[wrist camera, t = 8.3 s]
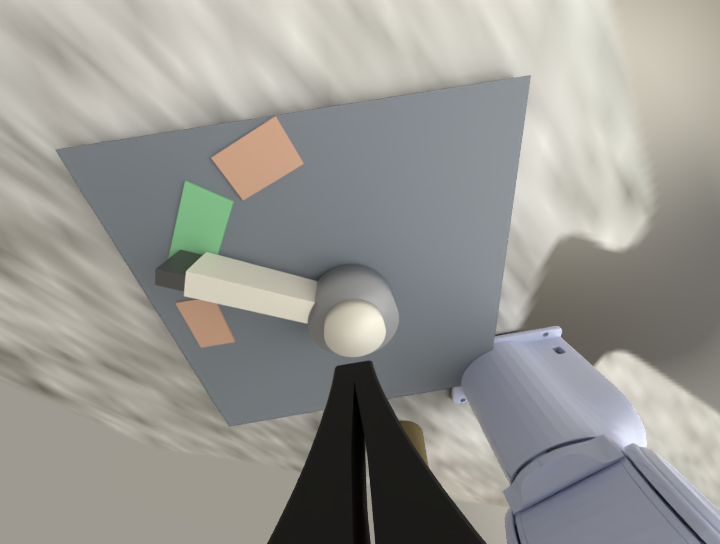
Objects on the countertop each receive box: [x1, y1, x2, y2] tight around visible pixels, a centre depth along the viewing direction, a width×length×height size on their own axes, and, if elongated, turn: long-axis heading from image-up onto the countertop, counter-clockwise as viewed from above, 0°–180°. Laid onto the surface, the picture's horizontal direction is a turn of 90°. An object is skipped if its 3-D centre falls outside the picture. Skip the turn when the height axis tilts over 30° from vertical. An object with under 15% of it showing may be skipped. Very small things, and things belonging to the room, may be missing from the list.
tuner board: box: [56, 75, 531, 426], centre depth 19 cm, size 24×23×1 cm
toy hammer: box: [155, 250, 399, 357], centre depth 16 cm, size 14×6×4 cm, turn 70°
